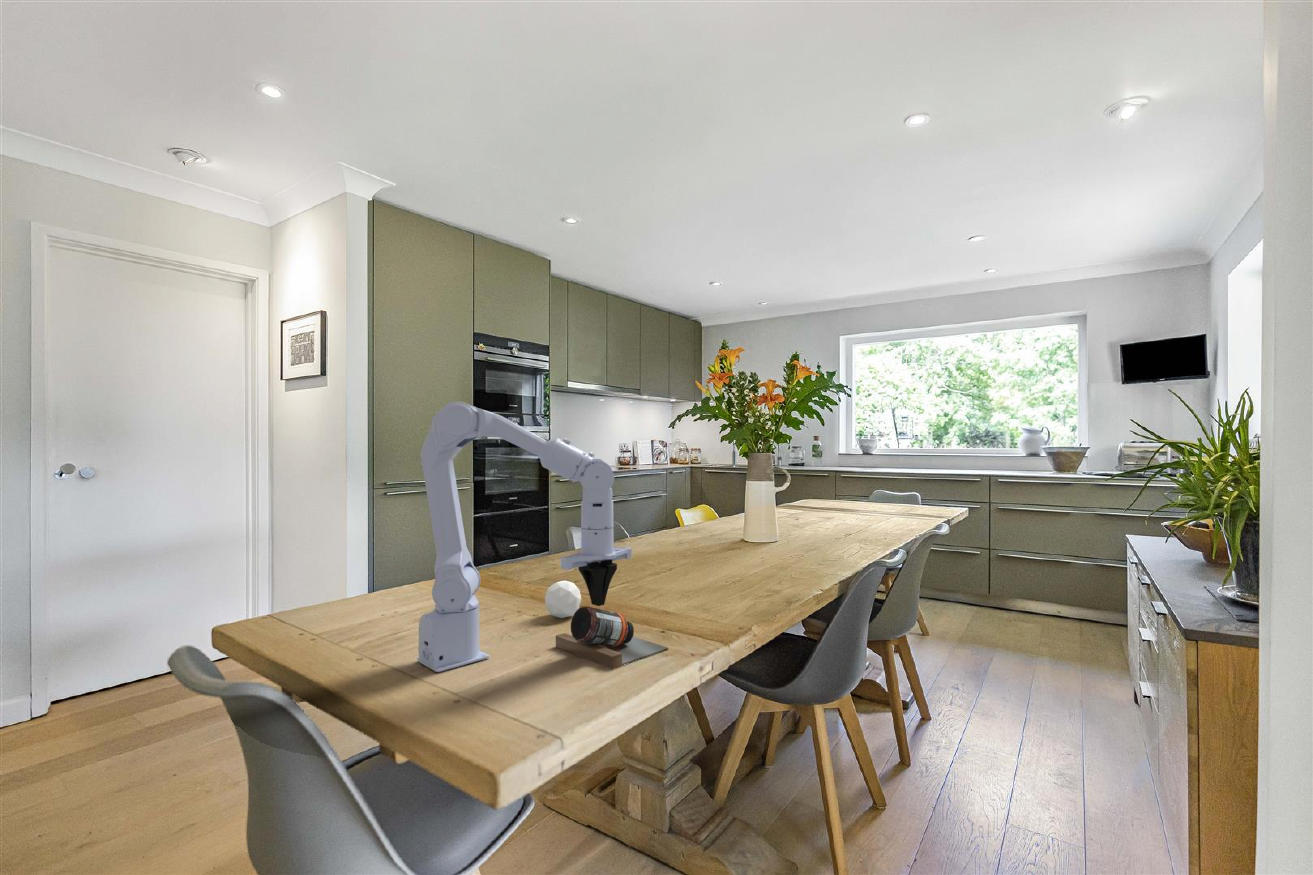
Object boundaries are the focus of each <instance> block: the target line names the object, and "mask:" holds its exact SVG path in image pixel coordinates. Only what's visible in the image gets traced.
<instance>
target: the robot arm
mask: <svg viewBox="0 0 1313 875" xmlns="http://www.w3.org/2000/svg"><path fill="white" fill-rule="evenodd" d="M478 437H486V438H488V437H495V438H496V437H497V438H500V439H502V440H505V441H506V442H508V443H511V444H512V445H515V446H517V447H519V448H521V449H523V450H525V451H528V452H530V453H532V454H533V455H535V456H537V457H538V458H539V461H540V464H541V466H542V467H543V468H544V469H545V470H546V469H547V470H548V471H550V472H553V473H554V474H556V475H559V476H560V477H561V478H565V479H566V480H568V481H570V482H572V483H575V482H579V483H580V485H581V487H582V501H581V502H580V507H581V508H580V522H581V523H580V530H581V531H580V532H581V533H580V536H581V538H580V539H581V540H580V542H581V543H580V544H581V545H580V546H581V547H580V549H581V551H580V552H576V553H572V554H569V555H567V556H562V557H561V556H560V569H561V570H567V571H570V570H572V569H575V568H578V571H579V573H580V574H581V576H582V578H583V580H584V582H585V584H586V587H587V590H588V594H589V595H588V596H589V597H590V598H589V599H590V602H591V605H594V606H597V607H600V606H604V605H605V603H606V599H607V593H608V591H609V587H610V584H611V582H612V579H613V577H614V575H615V573H616V572H617V570H618V563H614V562H613V561H619V560H624V559H626V560H629V559H632V547H628V546H621V547H614V543H615V542H614V536H615V534H614V533H615V532H614V500H613V497H614V495H613V493H614V492H613V488H612V487H613V485H614V482H615V475H614V472H613V469H612V467H611V466H610V465H609V464H608V463H607V462H605V461H604V460H602V459H600V458H595V453H593V452H591V451H589V452H586V451H584V450H582V449H580V448H578V447H577V446H574V445H572V444H571V443H572V441H571V440H570V439H568V438H564V439H563V440H562V439H561V438H559V437H556V438H552V439H550V440H546V439H544V438H542V437H541V436H538V435H537V434H536V433H534V432H532V431H529V429H526V428H524V427H522V426H520V425H519V424H517V423H516V422H513V421H511V420H510V419H508V418H506V417H504V416H502V415H500V414H497V413H495V412H491V411H488V410H485V409H482V408H478V407H476V406H474V405H470V404H469V403H467V402H464V401H458V400H457V401H456V400H455V401H451V402H449V403H447V404H445V405H444V406H443V407H442V408H441V409H440V410H439V411H438V412H437V413H436V414H435V415H434V416H433V417H432V420H431V426H430V428H429V431H428V433H427V435H426V438H425V440H424V443H423V445H422V447H421V449H420V459H421V460H420V461H421V466H422V473H423V478H424V484H425V490H426V497H427V502H428V510H429V516H430V521H431V527H432V534H433V541H434V547H435V553H436V556H435V557H436V558H435V562H434V569H433V570H434V583H433V586H432V589H431V595H432V596H431V597H432V599H433V602H434V604H435V605H434V609H433V610H432V611H430V612H428V613H424V614H422V615H421V616H420V618H419V624H418V657H417V658H416V661H417V662H418V663H420V664H422V665H424V666H425V667H427V668H429V669H431V670H432V671H434V672H436V673H440V672H444V671H447V670H451V669H454V668H458V667H462V666H465V665H468V664H472V663H475V662H478V661H479V662H480V661H483V660H486V659H489V658H490V654H488V653H487V652H484V651H483V650H480V601H479V600H478V599H477V597H476V593H477V592H478V590H479V588H480V585H481V575H480V572H479V571H478V570H477V568H476V566H475V565H474V563H473V559H472V555H471V553H470V551H469V549H468V547H467V542H466V540H467V539H466V535H465V529H464V522H463V517H462V516H463V515H462V510H461V504H460V498H459V492H458V491H459V490H458V486H457V485H458V484H457V478H456V473H455V468H454V467H455V466H454V459H455V458H456V457H457V456H458V454H459V453H460V452H461V451H462V449H463V448H464V446H466V445H467V444H469V443H471V442H472V441H474V440H475V439H477V438H478Z"/></svg>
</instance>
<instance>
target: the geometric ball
mask: <svg viewBox="0 0 1313 875" xmlns="http://www.w3.org/2000/svg"><path fill="white" fill-rule="evenodd" d="M544 602H545V604H544V605H545V609H546V610H547V611H548V613H549V614H550V615H551V616H552V617H556V618H558V619H559V618H560V619H565V618H568V617H571V616H572V617H573V615H574V613H575V612H576V611H577V610H578V609H579V608H580V606H581V602H582V595H581V591H580V589H579V587H578V586H577V585H576V584H575V583H574V582H572V581H568V580H561V581H558V582H557V581H556V582H554V583H553V584H552V585H550V586H549V587H547V590H546V593H545V597H544Z"/></svg>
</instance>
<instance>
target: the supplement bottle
mask: <svg viewBox="0 0 1313 875" xmlns="http://www.w3.org/2000/svg"><path fill="white" fill-rule="evenodd" d="M570 621H571V622H570V633H571V636H573V638H574V639H575V640H577V641H580V642H585V643H590V644H597V645H601V646H607V647H617V646H619V645H621V644H622V643H623V644H627V643H629V642H630V641H631V639H632V637H634V634H635V630H634V629H635V628H634V625H633V623H632V622H630V621H628V620H627V619H626V618H625V616H624V615H623V614H621V613H617V612H613V611H609V610H605V609H601V608H597V607H592V606H581V607H579V609H578V610H577V611H576V612H575V613H574V614H573V615H572V618H571V620H570Z"/></svg>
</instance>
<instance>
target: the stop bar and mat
mask: <svg viewBox="0 0 1313 875" xmlns="http://www.w3.org/2000/svg"><path fill="white" fill-rule="evenodd" d="M555 647H556V648H558V649H561V650H564V651H566V652H568V651H569V652H568V653H571V654H574V655H577V656H578V657H581V658H583V659H587V660H589V661H591V662H594V663H597V664H599V665H601V666H605V667H607V668H610V669H612V670H614V669H617V668H621V667H622V665H623V666H625V665H624V664H626V665H628V664H627V663H629V664H631V663H634V662H637V661H639V660H638V659H640V660H642V658H643V659H645V657H646V658H648V657H650V656H649V655H651V656H653V655H656V654H660V653H663V652H665V651H668V650H669V647H667V646H663V645H661V644H657V643H655V642H651V641H648V640H645V639H642V638H640V637H636V636H633V637H632V639H631V641H630V642H629V643H627V644H623V643H622V644H621V645H619V646H617V647H607V646H601V645H597V644H590V643H585V642H580V641H577V640H575V639H574V638H573V636H572V634H569V633H566V632H565V633H560V634H556V635H555ZM662 651H663V652H662ZM659 652H660V653H659ZM647 656H648V657H647ZM636 660H637V661H636ZM633 661H634V662H633Z"/></svg>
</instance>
